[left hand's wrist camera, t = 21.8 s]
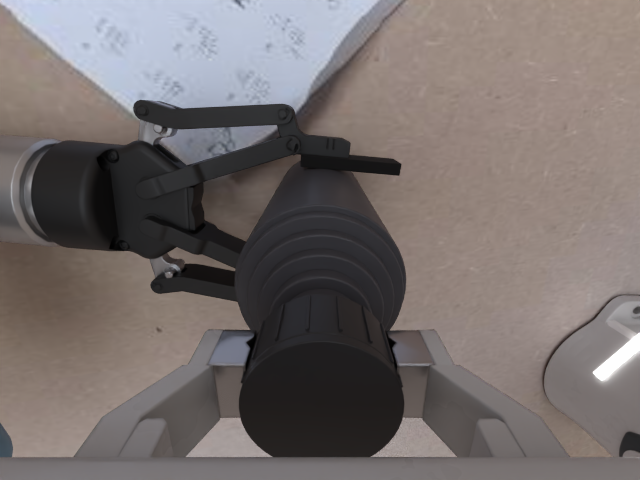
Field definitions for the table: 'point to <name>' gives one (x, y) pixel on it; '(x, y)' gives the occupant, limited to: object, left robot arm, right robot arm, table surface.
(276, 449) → the cap
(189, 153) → the table surface
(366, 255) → the bottle
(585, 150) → the table surface
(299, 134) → the right robot arm
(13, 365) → the table surface
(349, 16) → the table surface
